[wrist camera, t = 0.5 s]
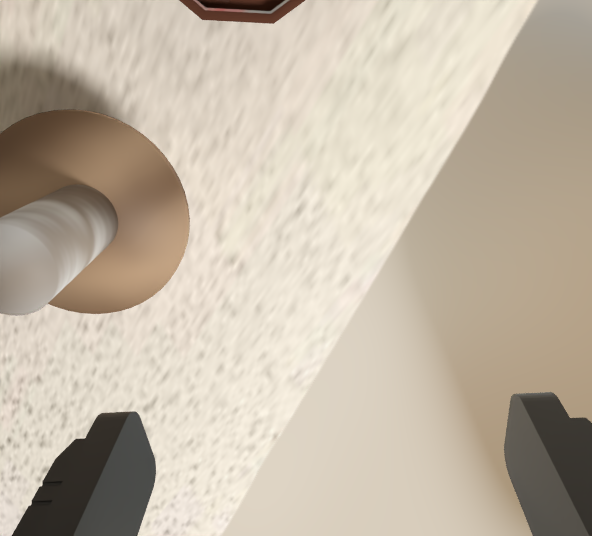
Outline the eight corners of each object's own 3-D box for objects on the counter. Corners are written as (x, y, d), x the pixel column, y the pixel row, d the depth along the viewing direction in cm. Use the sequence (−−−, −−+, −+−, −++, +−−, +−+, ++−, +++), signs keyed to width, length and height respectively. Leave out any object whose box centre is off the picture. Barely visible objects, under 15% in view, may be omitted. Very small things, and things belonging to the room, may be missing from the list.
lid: (-65, 175, 30) (-216, 215, 21) (110, 67, 28) (29, 59, 19) (67, 339, 34) (-10, 432, 25) (227, 254, 33) (207, 321, 23)
